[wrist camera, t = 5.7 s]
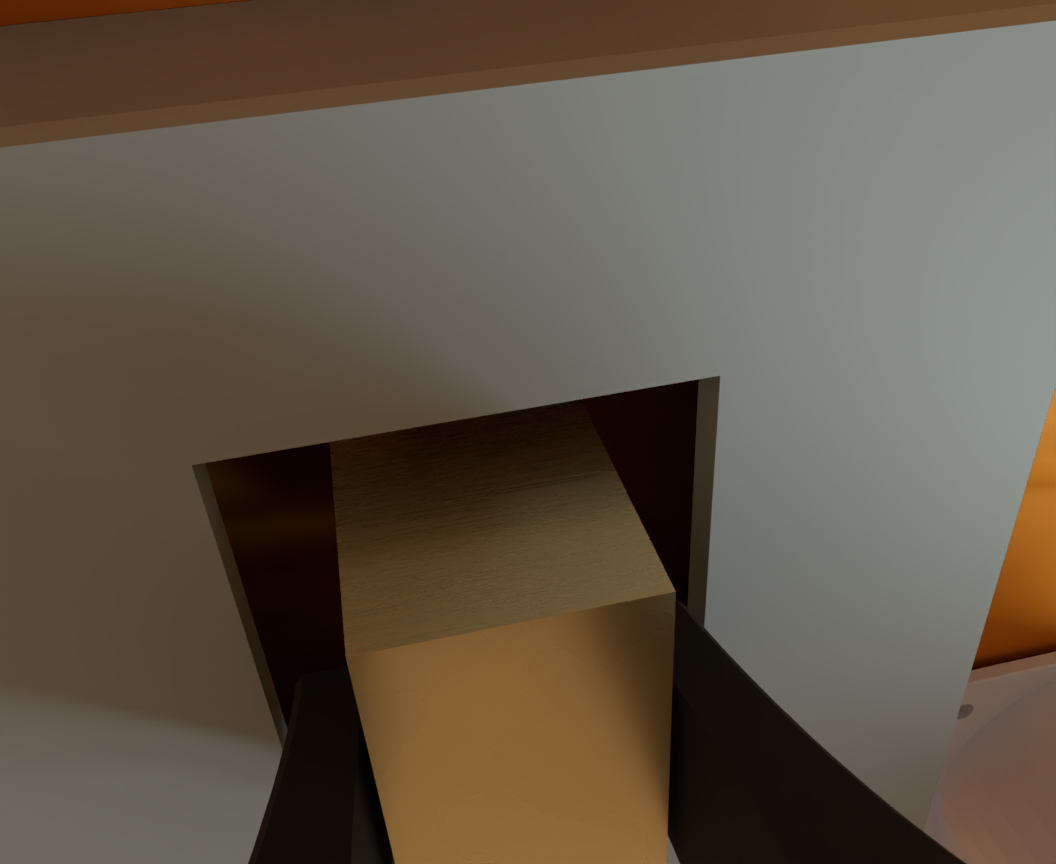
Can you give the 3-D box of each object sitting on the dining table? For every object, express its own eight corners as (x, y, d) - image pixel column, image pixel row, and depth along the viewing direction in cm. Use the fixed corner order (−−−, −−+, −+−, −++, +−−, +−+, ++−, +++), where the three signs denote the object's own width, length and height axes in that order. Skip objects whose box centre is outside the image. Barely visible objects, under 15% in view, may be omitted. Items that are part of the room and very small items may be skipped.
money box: (788, 644, 21) (915, 857, 17) (128, 785, 19) (88, 1066, 15) (884, -65, 13) (1168, 6, 9) (-224, 49, 11) (-521, 210, 7)
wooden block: (565, 609, 16) (665, 896, 12) (380, 645, 15) (417, 957, 11) (550, 338, 13) (675, 591, 9) (324, 374, 12) (345, 656, 8)
